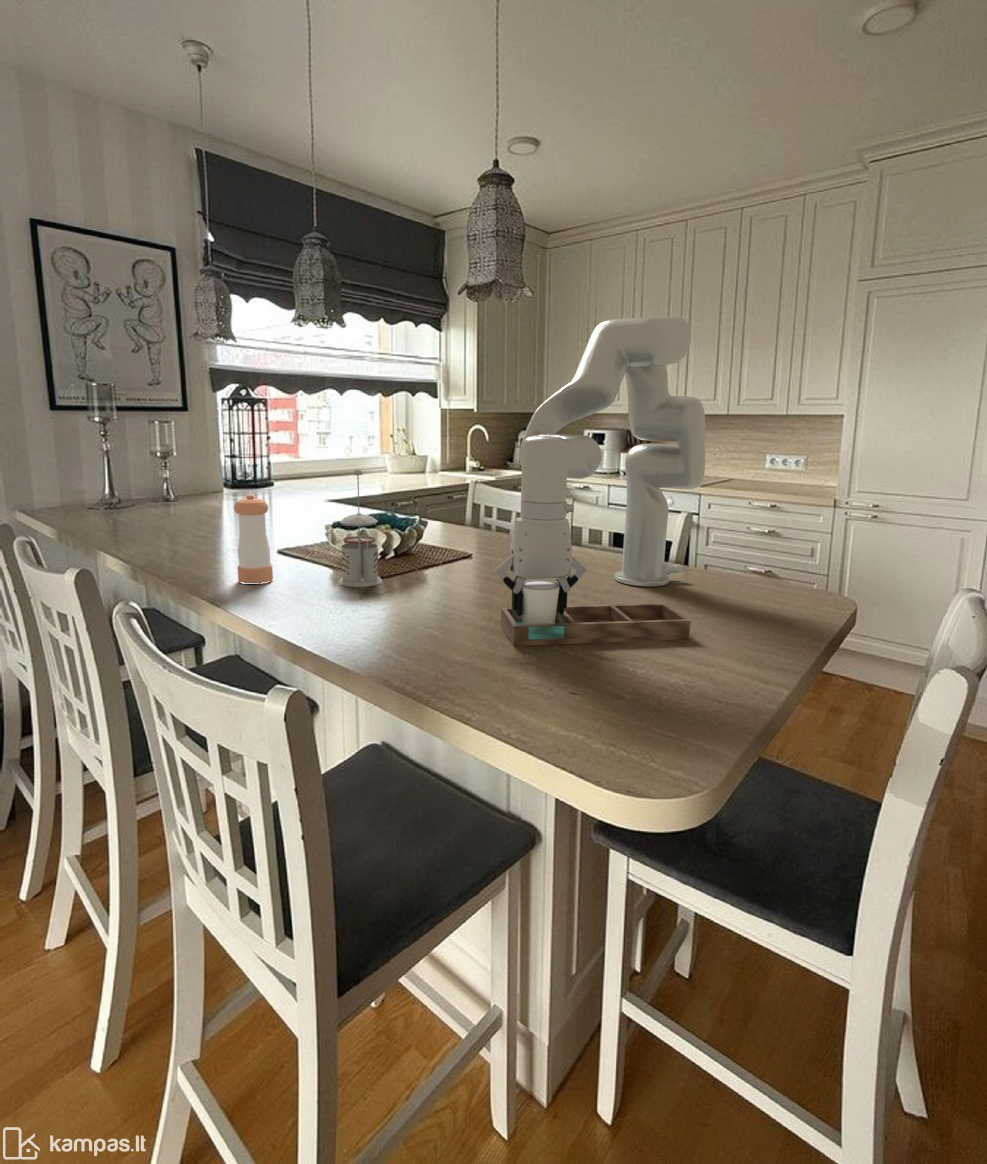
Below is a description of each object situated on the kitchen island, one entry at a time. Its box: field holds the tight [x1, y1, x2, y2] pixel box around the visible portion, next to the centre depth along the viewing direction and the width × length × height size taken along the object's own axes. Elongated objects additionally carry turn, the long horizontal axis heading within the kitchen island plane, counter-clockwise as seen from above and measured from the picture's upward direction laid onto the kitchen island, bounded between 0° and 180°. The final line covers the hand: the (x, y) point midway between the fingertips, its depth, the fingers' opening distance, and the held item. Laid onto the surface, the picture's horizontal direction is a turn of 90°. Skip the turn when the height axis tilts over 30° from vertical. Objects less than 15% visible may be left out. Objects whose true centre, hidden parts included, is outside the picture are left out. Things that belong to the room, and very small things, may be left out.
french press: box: [338, 469, 383, 588], centre depth 148 cm, size 10×12×25 cm
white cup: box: [521, 579, 560, 625], centre depth 117 cm, size 7×7×7 cm
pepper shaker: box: [233, 494, 274, 583], centre depth 147 cm, size 7×7×19 cm
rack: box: [500, 602, 691, 647], centre depth 119 cm, size 31×12×3 cm, turn 100°
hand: (538, 612), depth 117 cm, fingers closed on white cup, 6 cm apart
